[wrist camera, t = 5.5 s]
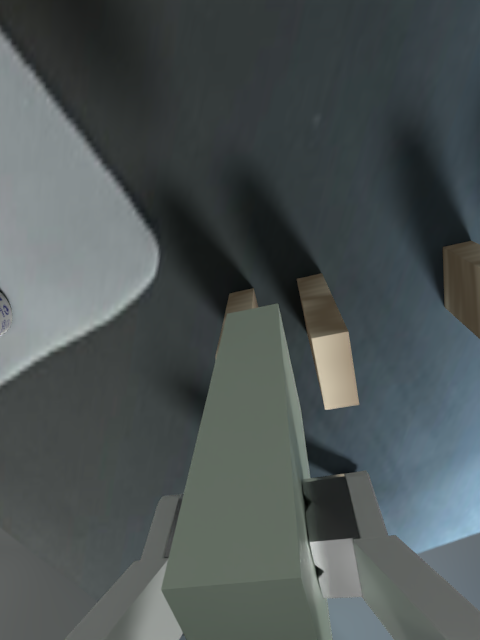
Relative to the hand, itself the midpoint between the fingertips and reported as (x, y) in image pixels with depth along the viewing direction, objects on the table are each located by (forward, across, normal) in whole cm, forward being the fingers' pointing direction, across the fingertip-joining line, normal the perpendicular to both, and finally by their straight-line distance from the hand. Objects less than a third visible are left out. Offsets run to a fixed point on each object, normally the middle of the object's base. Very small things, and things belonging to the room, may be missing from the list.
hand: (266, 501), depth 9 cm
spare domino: (+7, 0, 0) cm, 7 cm away
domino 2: (+22, -3, +4) cm, 23 cm away
